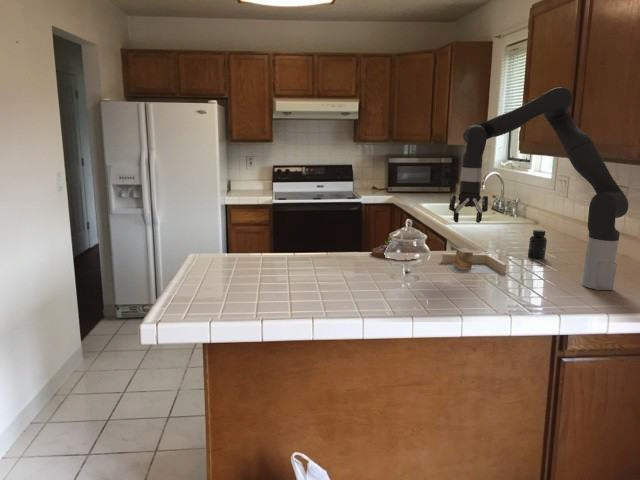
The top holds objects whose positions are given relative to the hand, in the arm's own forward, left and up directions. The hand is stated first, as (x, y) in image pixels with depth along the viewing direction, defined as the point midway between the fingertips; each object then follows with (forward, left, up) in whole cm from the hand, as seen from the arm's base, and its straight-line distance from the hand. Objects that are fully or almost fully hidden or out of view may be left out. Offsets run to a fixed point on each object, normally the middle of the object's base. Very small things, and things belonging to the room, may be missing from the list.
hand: (467, 222), depth 200 cm
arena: (-1, -3, -18) cm, 18 cm away
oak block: (0, 0, -17) cm, 17 cm away
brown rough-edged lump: (+21, +21, -18) cm, 35 cm away
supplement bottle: (+18, -39, -18) cm, 47 cm away
